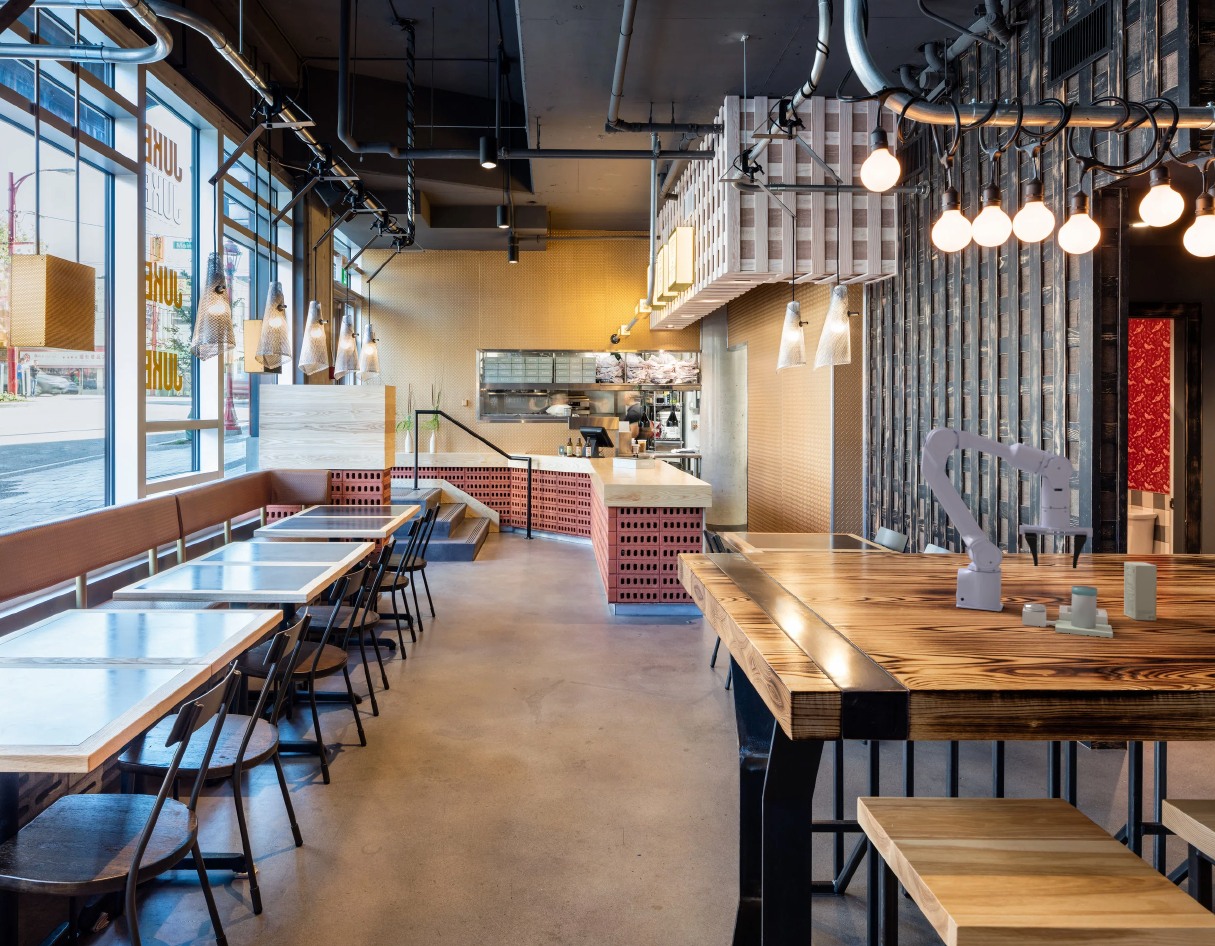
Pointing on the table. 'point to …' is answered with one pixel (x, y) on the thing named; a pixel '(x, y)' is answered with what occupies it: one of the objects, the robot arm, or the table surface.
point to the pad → (1084, 629)
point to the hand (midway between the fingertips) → (1055, 566)
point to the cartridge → (1083, 607)
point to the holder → (1064, 614)
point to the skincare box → (1140, 590)
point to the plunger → (1034, 607)
